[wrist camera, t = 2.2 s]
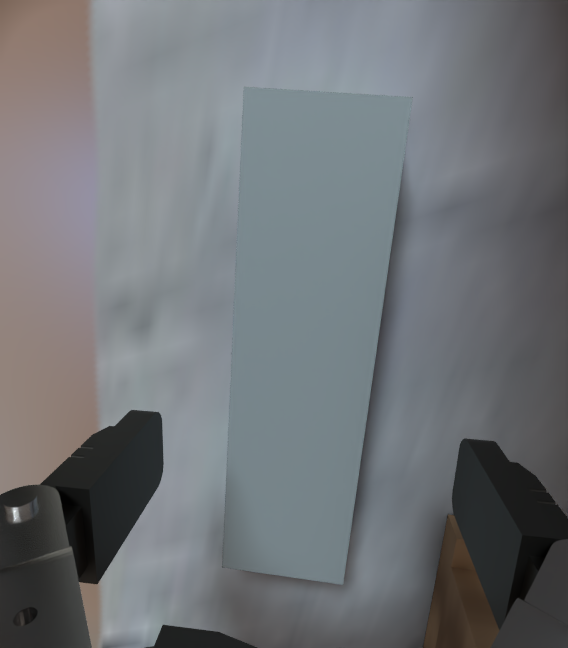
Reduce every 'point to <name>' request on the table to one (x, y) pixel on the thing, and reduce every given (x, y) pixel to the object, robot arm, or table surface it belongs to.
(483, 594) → the stand
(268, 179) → the grey rectangular block
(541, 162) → the table surface
